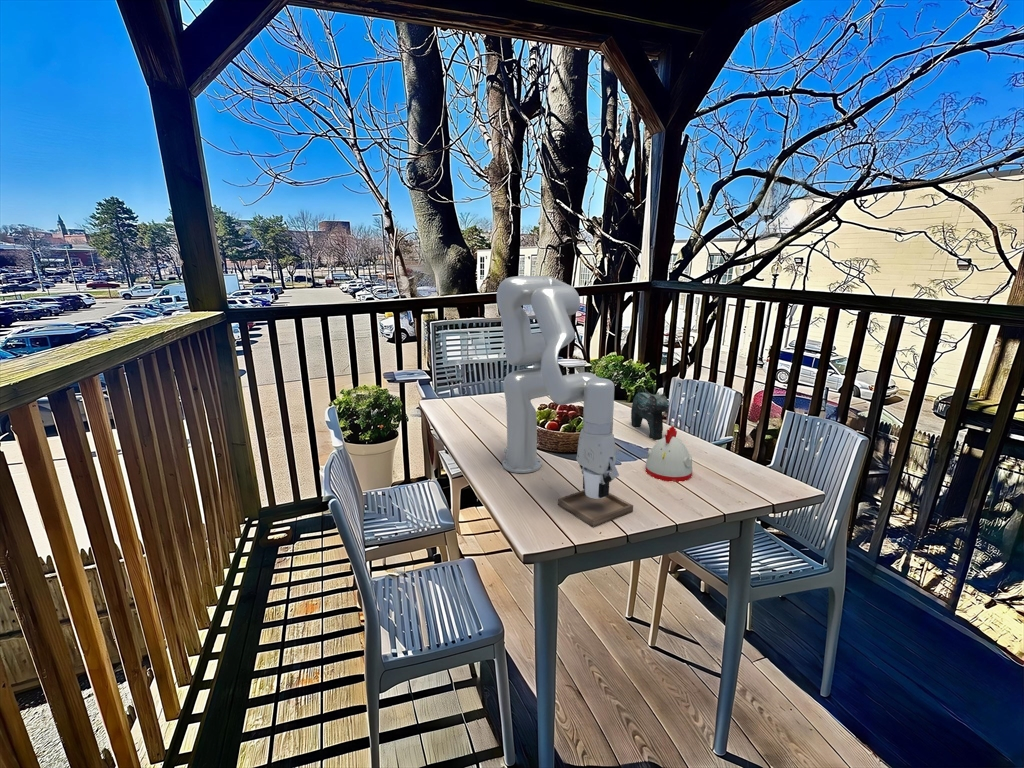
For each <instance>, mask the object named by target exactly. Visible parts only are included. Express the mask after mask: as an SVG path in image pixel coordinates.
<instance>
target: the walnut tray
mask: <svg viewBox="0 0 1024 768" xmlns="http://www.w3.org/2000/svg"><path fill="white" fill-rule="evenodd" d="M557 506H558V507H560V508H562V509H563V510H565V511H566V512H568V513H570V514H571V515H573V516H575V517H576V518H578V519H580V520H581V521H582V522H584V523H585V524H587V525H589V526H590V527H592V528H596V527H598V526H601V525H603V524H606V523H608V522H610V521H614V520H615V519H618V518H621V517H623V516H626V515H629V514H631V513H633V511H634V505H633V504H631V503H629V502H627V501H625V500H624V499H622V498H620V497H618V496H616V495H614V494H612V493H610V492H609V495H608V496H606V497H604V498H600V499H594V498H590V497H588V496H586V494H585V489H583V490H580V491H577V492H574V493H570V494H569V495H565V496H562V497H559V498H557Z"/></svg>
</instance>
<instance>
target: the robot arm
mask: <svg viewBox="0 0 1024 768" xmlns="http://www.w3.org/2000/svg"><path fill="white" fill-rule="evenodd" d="M496 290H497V291H496V304H497V309H498V312H499V315H500V319H501V323H502V331H503V332H502V333H503V343H504V353H505V359H506V361H507V362H508V364H509V365H511V366H514V367H516V366H518V367H521V366H528V365H534V367H533V368H525V369H519V370H513V371H511V372H508V374H507V375H506V376H505V377H504V379H503V382H502V386H503V393H504V398H505V404H506V405H505V407H506V434H507V435H506V448H504V449H503V453H504V454H506V457H505V459H503V461H502V468H503V469H504V470H506V471H508V472H511V473H515V474H528V473H533V472H536V471H539V470H540V469H541V468H542V461H541V460H540V458H538V457H537V455H538V453H537V452H538V451H537V450H538V449H537V447H538V446H537V443H538V442H537V440H538V429H537V428H538V427H537V426H538V416H537V415H538V413H537V410H536V408H535V407H534V405H533V404H532V402H531V400H535V399H537V398H538V399H540V398H544V397H549V398H550V400H552V402H554V403H555V404H556V405H560V406H564V405H570V404H575V403H582V402H583V413H582V415H583V416H582V428H581V430H580V432H579V435H578V442H577V453H576V457H575V459H576V461H577V463H578V465H579V467H580V469H581V475H582V489H583V490H585V483H584V467H585V468H587V469H589V470H591V471H593V472H595V473H597V474H600V475H601V480H600V481H601V483H599V495H598V496H599V498H603V497H605V496H608V495H609V493H610V483H611V482H612V481H613V480H614V479H616V478H618V477H619V476H620V474H619V472H618V469H617V467H616V461H617V459H616V457H617V455H616V454H617V453H616V452H617V451H616V442H615V435H614V434H613V431H614V407H615V383H614V382H613V381H612V380H611V379H608V378H604V377H600V376H597V375H596V374H594V373H591V372H586V371H585V372H584V371H583V372H578V373H569V374H565V375H563V374H562V371H561V368H560V364H559V353H560V351H561V349H563V348H565V347H566V346H567V345H569V344H570V343H572V341H573V340H574V339H575V337H576V331H575V329H574V327H573V324H572V322H571V319H570V316H573V315H575V314H576V313H578V311H579V309H580V306H581V299H580V296H579V293H578V291H577V290H576V289H575V288H574V287H573V286H572V285H570V284H567V283H566V282H565V281H561V280H559V279H557V278H554V277H552V276H548V275H519V276H518V275H517V276H510V277H507V278H505V279H503V280H502V281H501V282H500V283H499V285H498V288H497V289H496ZM522 306H531V308H532V311H533V313H534V316H535V319H536V321H537V324H538V326H539V330H540V332H536V333H532V331H531V330H532V328H531V320H530V318H529V315H528V314H527V311H525V309H524V308H523V307H522ZM606 473H608V476H607V477H604V474H606Z"/></svg>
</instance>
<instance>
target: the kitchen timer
mask: <svg viewBox="0 0 1024 768" xmlns="http://www.w3.org/2000/svg"><path fill="white" fill-rule="evenodd" d="M677 434H678V431H677V428H675V426H674V425H673V426H672V425H671V426H670V427H669V428H668V429H667V430H666V434H665V435H664V436H663V437H662V439H660V440H657V441H656V442H655V444H654V445H653V446H652V448H648V451H647V455H646V462H645V469H646V470H645V473H646V472H647V473H646V474H647V475H648V476H650V477H651V478H653V477H654V478H653V479H656V480H659V479H660V480H659V481H663V480H664V481H663V482H669V481H673V482H672V483H679V481H682V482H686V481H689V480H690V479H692V477H693V458H692V457H693V456H692V455H693V454H692V453H689V450H688V448H687V447H686V445H685V444H684V443H683V442H682V441H681V440H680V439H679V438H678V437H677ZM691 476H692V477H691ZM689 478H690V479H689ZM688 479H689V480H688ZM685 480H686V481H685ZM675 481H676V482H675Z"/></svg>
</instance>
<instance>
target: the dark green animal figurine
mask: <svg viewBox="0 0 1024 768" xmlns="http://www.w3.org/2000/svg"><path fill="white" fill-rule="evenodd" d="M651 386H652V387H653V393H650V392H649V391H648V390H647V389H646V388H640V389H639V390H638V392H637V393H636V394H635V396H634V397H633V400H632V404H631V405H632V406H631V409H630V411H631V412H630V419H631V422H630V423H631V424H630V425H631V427H633V428H635V429H636V428H637V429H638V428H639V429H640V428H641V426H642V423H643V419H644V420H645V421H646V422H647V425H648V429H649V435H648V437H649V439H652V440H653V441H659V440H660V439H662V438H663V431H664V426H663V425H664V421H663V420H664V418H663V413H664V412H666V411H668V408H669V405H668V404H669V401H668V398H667V396H666V395H665V392H663V393H661V394H660V392H659V391H657V392H656V393H655V385H654V383H650V384H649V387H651ZM642 390H643V391H645V392H641V391H642Z"/></svg>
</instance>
